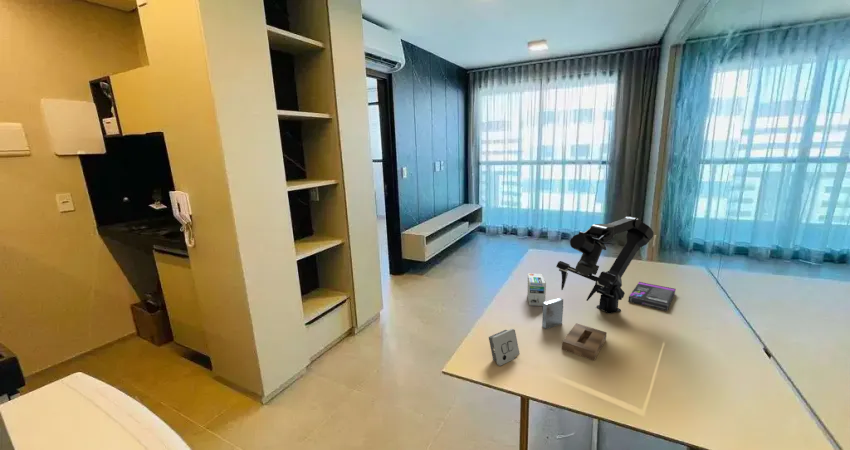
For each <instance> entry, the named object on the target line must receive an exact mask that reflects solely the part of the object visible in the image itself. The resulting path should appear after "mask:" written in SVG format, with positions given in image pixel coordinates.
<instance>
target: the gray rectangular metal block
mask: <svg viewBox="0 0 850 450" xmlns="http://www.w3.org/2000/svg"><path fill="white" fill-rule="evenodd" d="M563 312H564V299H563V298H561V297H558V298H555V299H551V300H547V301H545V302H543V306H542V322H541V324H542V325H541V327H542V328H543V329H545V330H548V329H551V328H554V327H556V326H560V325H563V316H564V315H563V314H564V313H563Z"/></svg>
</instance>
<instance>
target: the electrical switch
mask: <svg viewBox="0 0 850 450" xmlns="http://www.w3.org/2000/svg"><path fill="white" fill-rule="evenodd" d="M488 341H489V347H490V352H491V356H492V361H495V362H496V365H497V366H503V365H504V364H505V365H506V364H508V363H509V362H511V361H513V360H515V359H517V357H516V356H518V355H520V348H519V345H518V344H519V343H518V339H517V333H516V330H515V328H510V329H508V330H507V329H504V330H502V331H499V332H497V333H495V334H492V335H490V336H488Z"/></svg>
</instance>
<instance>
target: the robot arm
mask: <svg viewBox="0 0 850 450" xmlns="http://www.w3.org/2000/svg"><path fill="white" fill-rule="evenodd" d="M624 232H626V234H625V235H626V242H625V244H624V245H623V247H622V249H621V251H620V252H619V254H618V255H617V256H616V259H614V261H613V263H612V265H611V267H610V268H609V270H607V271H603V270H602V271H601V272H600V274H599V275H598V276H596V275H597V273H598V271H599V268H600V265H597V263H598V261H599V259H600V256H601V254H602V251H606V250H607V247H606V244H605V243H608V242H609V241H612V240H614V238H615V236H616V235H618V234H621V233H624ZM654 234H655V233H654V231H653V229H652V227H650V226H649V225H648V224H646V223H645V222H643V221H642V220H641V219H640V218H639V217H634V216H625V217H624V218H622V219H618V220H615V221H612V222H608V223H595V224H592V225H591V226H590V227H589V228H588V229H587V230H585V231H579V232H578V233H577V234H575V235H574V236H573V235H572V237H571V238H570V241H569V244H570V247H571V248H572V249H574V250H576V251H578V252H579V253H581V255H580V259H579V261H577V264H576V266H575V267H572V266H571V265H570V263H568V262H564V261H562V260H559V261H558V262H557V264H556V267H555V268H558V271H559V272H561V287H560V288H561V289H560V290H561V291H563V290H564V288H565V285H566V281H567V279H568V275H569V272H571V273H573V274H576V275H578V276H581V277H584V278H585V279H589V280H591V281H593V282H595V284H594V286H593V287H592V289H591V290H590V293H589V294H588V295H587V298H586V300H585V301H589V300H590V299H591V298H592V296H594V295H595V293H597V294H600V298H599V303H598V304H599V305H596V308H597V309H599V310H601V311H603V312H605V313H607V314H613V313H617V312H622V309H621V308H619V301H621V300H622V299H624V296H625V291H624V290H623V289H622V286H623V282H622V277H623V275H624V273H626V270H627V269H628V267H629V266H630V264H631V262H632V261H633V259H634V258H635V256H636V255H637V253H638V251H639V249H641V248H642V247H644V246H646V245H648V243H649V242H650V241H651V240H652V239H653V238H654Z"/></svg>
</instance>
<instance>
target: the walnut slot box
mask: <svg viewBox="0 0 850 450" xmlns="http://www.w3.org/2000/svg"><path fill="white" fill-rule="evenodd" d="M607 334H608V332H606V331H605V330H604V331H603V330H600V329H596V328H593V327H591V326H587V325H583V324H580V323H575V324H574V325H573V326H572V328H571V329H570V330H569V332H568V333H567V334H566V336H565V337H564V338H563V340H561V350H563V351H566V352H569V353H571V354H574V355H577V356H580V357H583V358H586V359H587V360H591V361H595V360H596V358H597V357H598V355H599V353H600V351H601V350H602V348H603V346H604V344H605V343H606V341H607Z"/></svg>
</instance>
